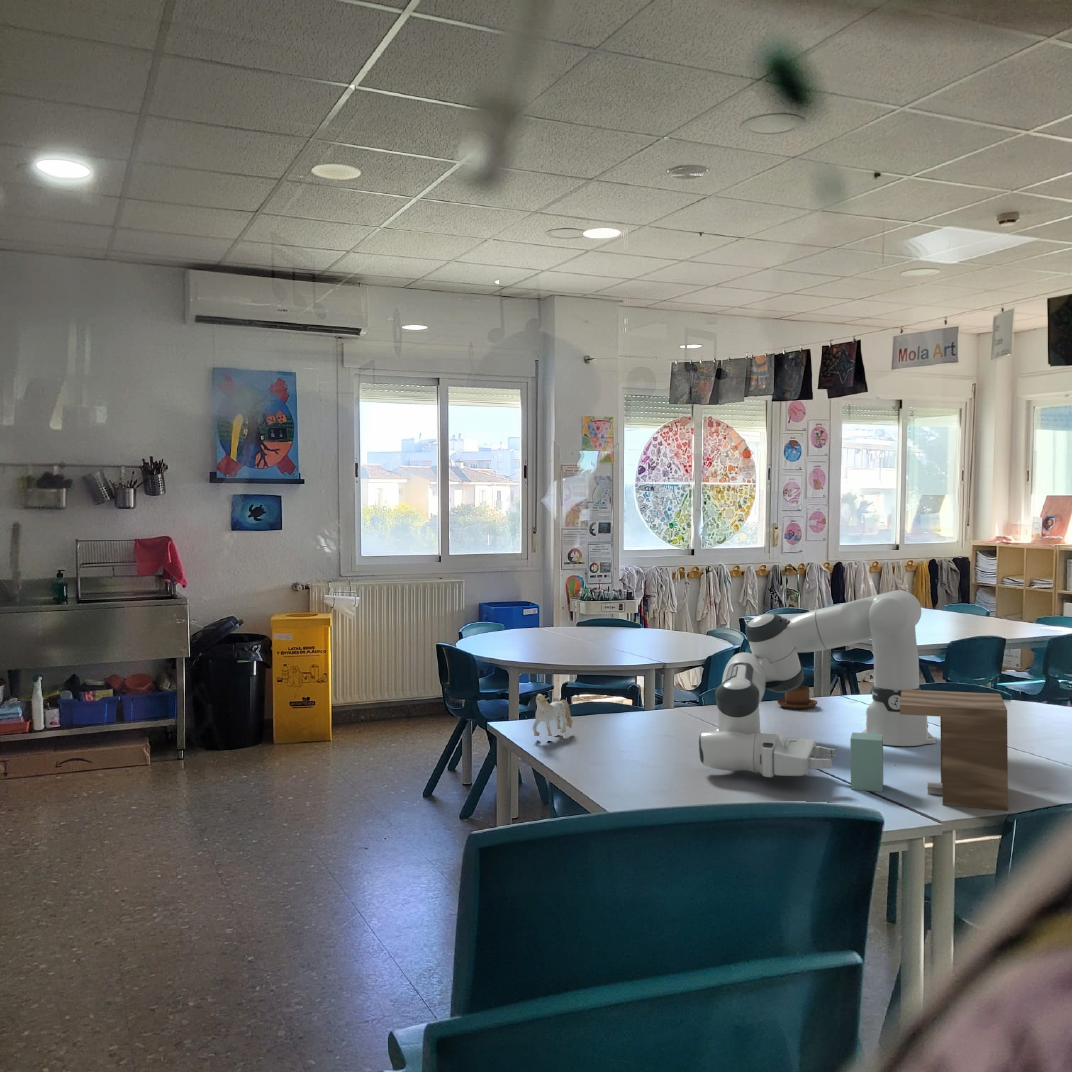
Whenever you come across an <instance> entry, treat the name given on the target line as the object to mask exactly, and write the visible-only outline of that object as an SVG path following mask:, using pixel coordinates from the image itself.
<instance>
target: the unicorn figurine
mask: <svg viewBox="0 0 1072 1072" xmlns="http://www.w3.org/2000/svg"><path fill="white" fill-rule="evenodd" d="M545 697H546V695H545V694H544V695H543V694H542V693H537V695H536V697H535V703H536V706H537V708H536V710H535V716H534V717H535V721H534V723H533V725H532V731H533V737H534V736H539V735H541V734H540V732H539V731H538V730H537V728H538V725H539V724H540V723H541V722H545V726H546V729H547V734H548V735H547V736H552V737H553V734H552V732H551V726H550V722H551V721H553V720H554V721H555V722H556V725H557V727H556V730H557V729H561V731H560V732H561V733H564V732H567V727H568V728H570V729H573V728H572V726H573V723H574V721H573V719H572V715H571V710H570V705H569V702H568V701H567V700H566V699H562V700H560V701H552V702H551V703H549V702H548V700H549V699H550V697H546V698H545ZM561 721H562V722H563V723H562V727H561Z"/></svg>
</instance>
